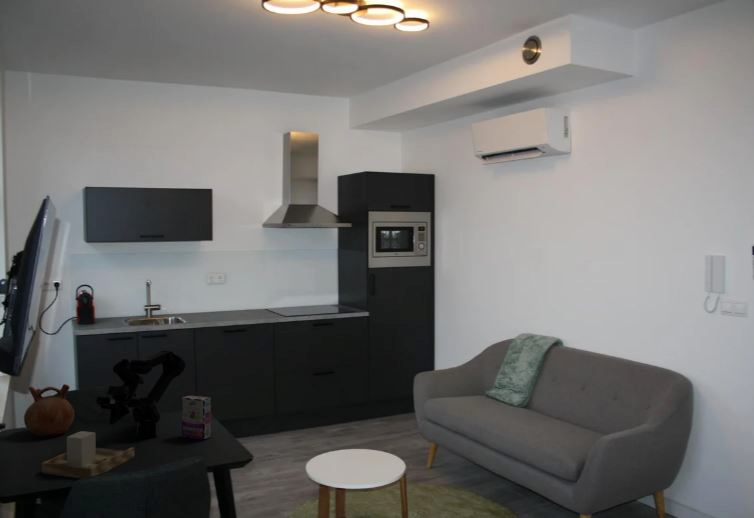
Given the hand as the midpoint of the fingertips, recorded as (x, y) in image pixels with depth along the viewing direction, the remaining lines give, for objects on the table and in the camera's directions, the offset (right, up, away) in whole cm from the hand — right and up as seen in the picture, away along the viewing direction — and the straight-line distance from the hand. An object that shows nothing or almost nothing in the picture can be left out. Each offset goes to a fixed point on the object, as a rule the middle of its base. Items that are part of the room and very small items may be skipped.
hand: (110, 424), depth 244 cm
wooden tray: (-3, -12, -11) cm, 16 cm away
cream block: (-4, -10, -15) cm, 18 cm away
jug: (-35, -10, +25) cm, 45 cm away
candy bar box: (+26, -11, +22) cm, 35 cm away
